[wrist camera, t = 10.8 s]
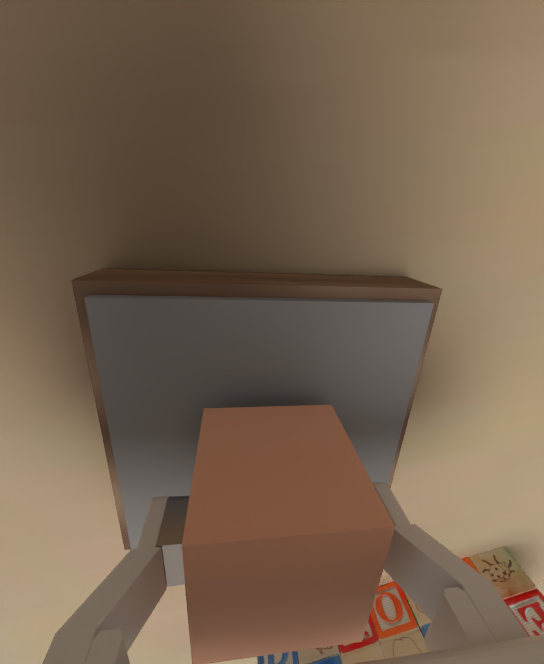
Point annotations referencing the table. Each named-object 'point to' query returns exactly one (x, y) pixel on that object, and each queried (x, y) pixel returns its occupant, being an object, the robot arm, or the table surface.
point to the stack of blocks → (424, 617)
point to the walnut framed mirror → (244, 363)
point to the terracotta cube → (279, 534)
